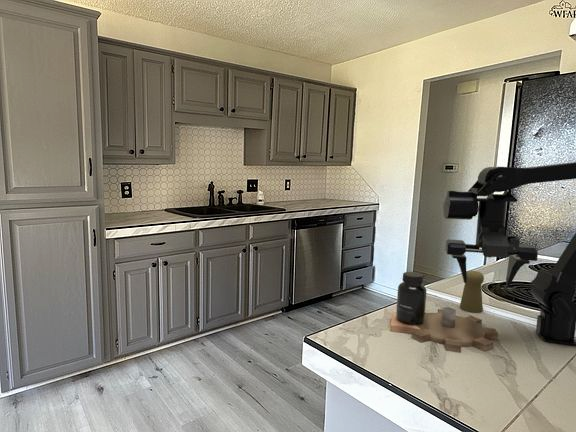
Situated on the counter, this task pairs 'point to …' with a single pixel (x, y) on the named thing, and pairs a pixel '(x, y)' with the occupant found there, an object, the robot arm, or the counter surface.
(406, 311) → the supplement bottle
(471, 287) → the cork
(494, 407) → the counter surface
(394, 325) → the sprocket plate
